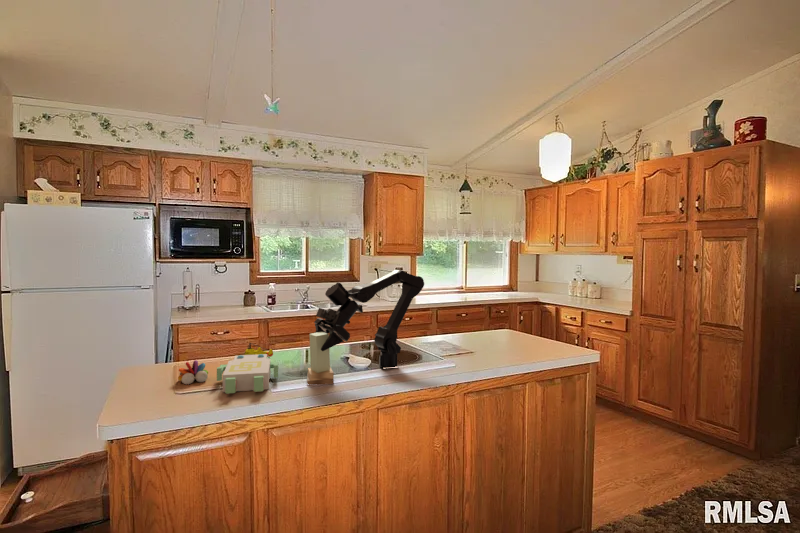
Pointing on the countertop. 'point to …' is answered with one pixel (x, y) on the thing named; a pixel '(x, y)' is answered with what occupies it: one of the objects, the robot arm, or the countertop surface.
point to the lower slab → (320, 381)
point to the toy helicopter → (257, 351)
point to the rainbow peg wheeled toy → (193, 373)
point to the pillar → (319, 352)
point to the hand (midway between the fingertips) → (316, 347)
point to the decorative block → (247, 373)
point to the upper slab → (320, 375)
